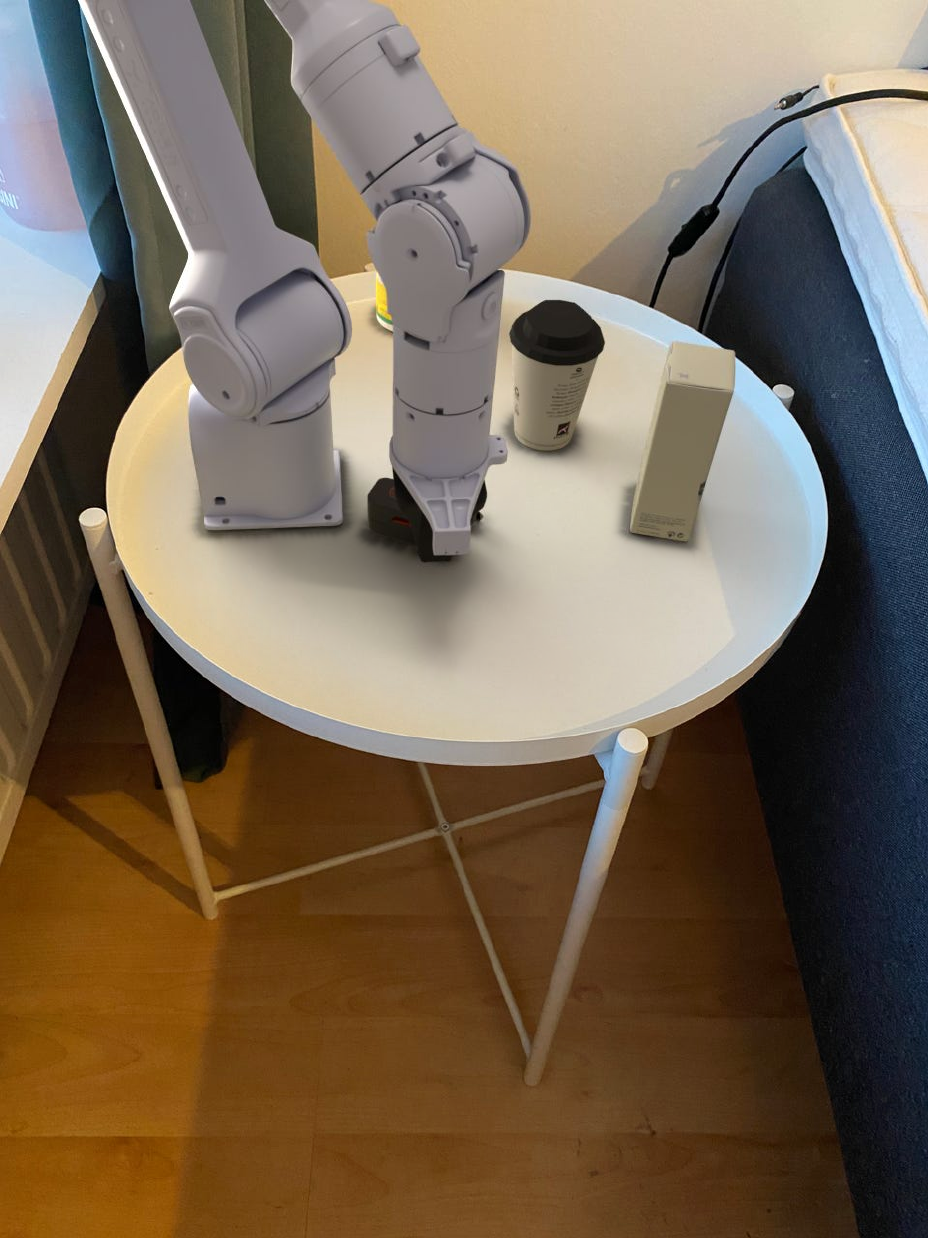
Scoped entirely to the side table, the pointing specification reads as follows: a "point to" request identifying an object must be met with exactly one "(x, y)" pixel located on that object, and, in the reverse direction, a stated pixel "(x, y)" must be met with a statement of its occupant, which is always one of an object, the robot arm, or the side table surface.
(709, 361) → the box
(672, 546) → the side table surface
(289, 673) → the side table surface
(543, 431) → the coffee cup
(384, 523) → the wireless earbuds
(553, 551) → the side table surface
